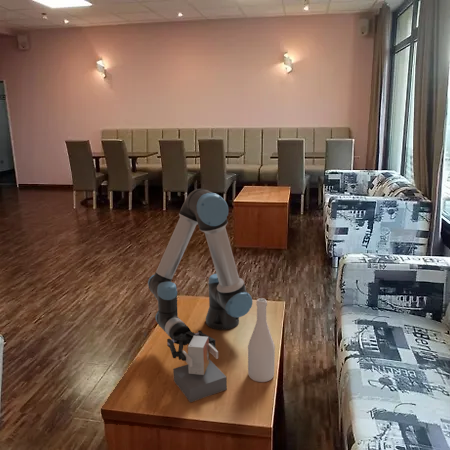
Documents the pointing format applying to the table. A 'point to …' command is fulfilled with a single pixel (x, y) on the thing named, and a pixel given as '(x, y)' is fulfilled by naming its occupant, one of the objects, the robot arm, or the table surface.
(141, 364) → the table surface
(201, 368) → the small box
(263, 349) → the wine bottle
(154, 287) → the robot arm
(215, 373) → the plinth
